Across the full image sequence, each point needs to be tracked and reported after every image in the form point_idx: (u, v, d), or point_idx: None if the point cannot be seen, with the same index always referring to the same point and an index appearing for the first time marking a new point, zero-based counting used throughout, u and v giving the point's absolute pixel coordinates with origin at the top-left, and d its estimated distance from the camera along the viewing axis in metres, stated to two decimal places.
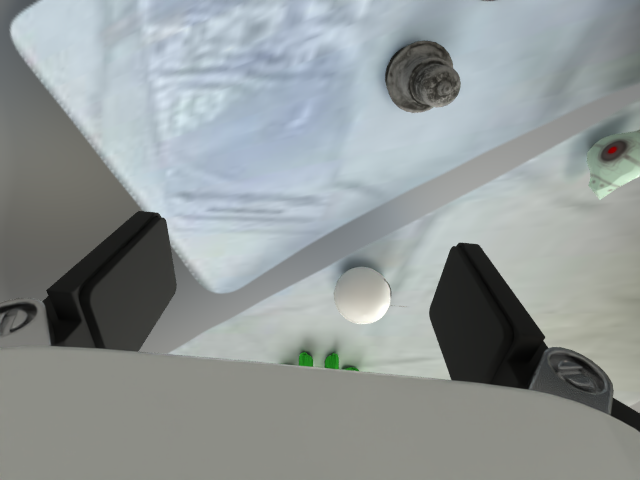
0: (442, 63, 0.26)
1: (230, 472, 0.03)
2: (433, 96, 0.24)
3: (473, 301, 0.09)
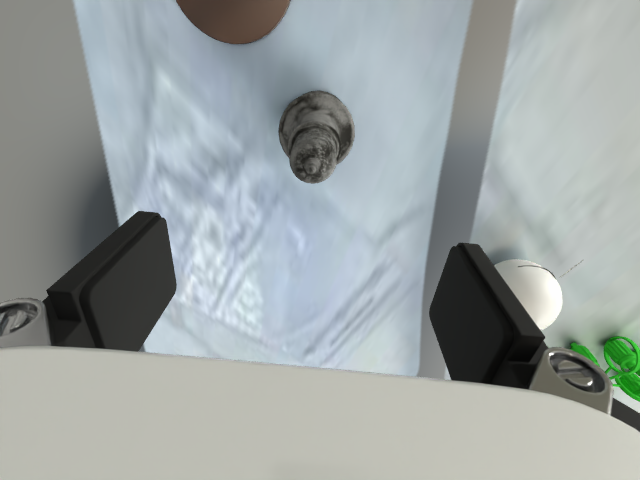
0: (300, 129, 0.22)
1: (230, 472, 0.03)
2: (315, 177, 0.20)
3: (473, 301, 0.09)
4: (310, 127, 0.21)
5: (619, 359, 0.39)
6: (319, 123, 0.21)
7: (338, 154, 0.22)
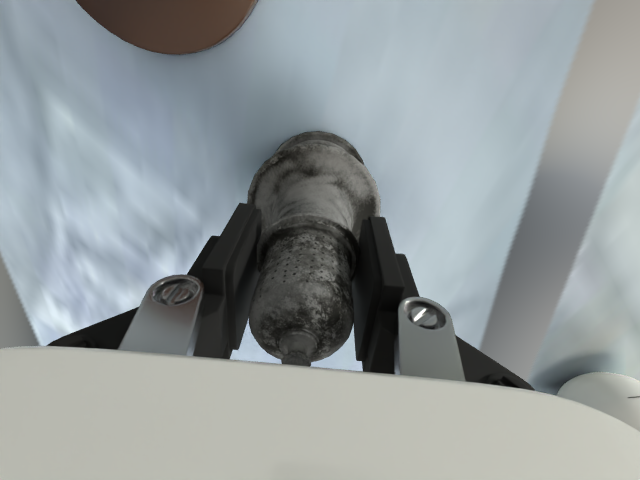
0: (279, 230, 0.11)
1: (230, 472, 0.03)
2: None
3: (365, 264, 0.10)
4: (298, 227, 0.10)
5: None
6: (316, 219, 0.10)
7: (354, 272, 0.11)
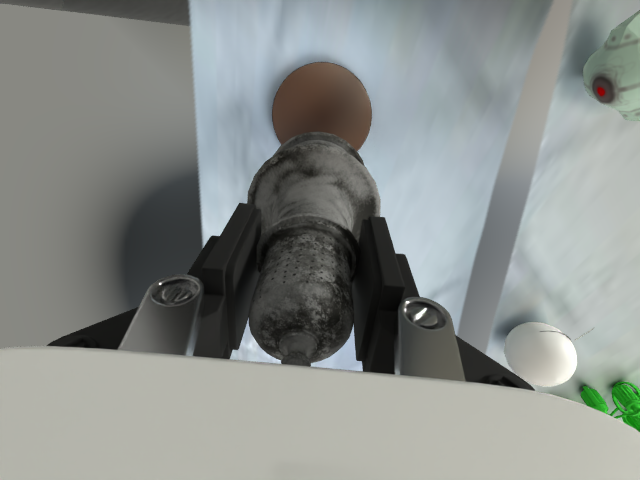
0: (278, 230, 0.11)
1: (230, 472, 0.03)
2: None
3: (366, 264, 0.10)
4: (297, 228, 0.10)
5: (625, 402, 0.45)
6: (317, 220, 0.10)
7: (354, 273, 0.11)
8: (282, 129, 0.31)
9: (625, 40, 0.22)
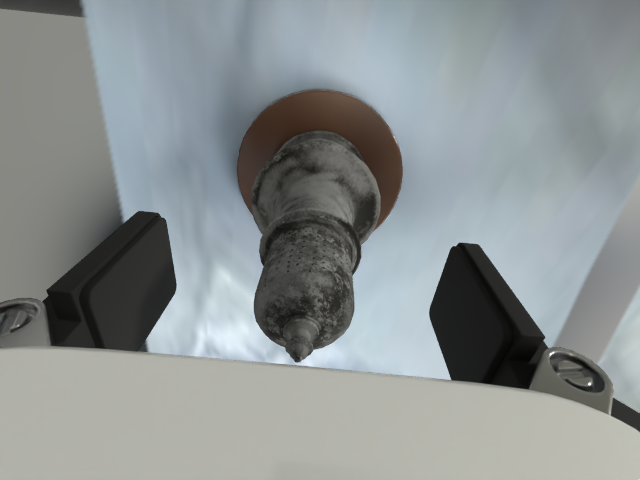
0: (282, 224, 0.11)
1: (230, 472, 0.03)
2: None
3: (473, 301, 0.09)
4: (300, 221, 0.11)
5: None
6: (319, 214, 0.11)
7: (355, 265, 0.12)
8: None
9: None
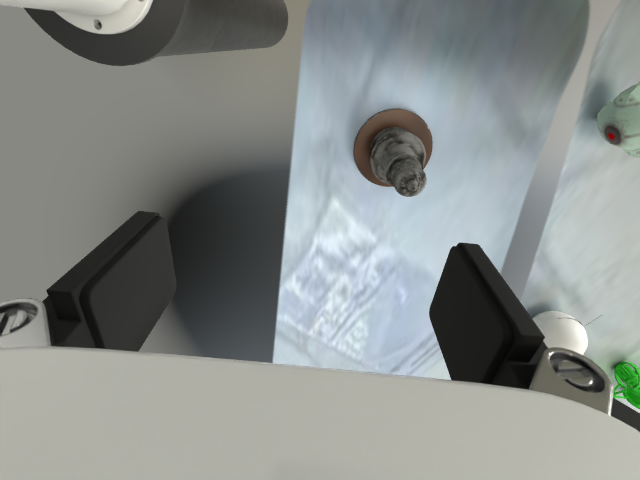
0: (397, 159, 0.31)
1: (230, 472, 0.03)
2: (412, 193, 0.30)
3: (473, 301, 0.09)
4: (403, 158, 0.31)
5: (626, 379, 0.54)
6: (410, 155, 0.31)
7: None
8: (361, 158, 0.39)
9: (629, 102, 0.31)
